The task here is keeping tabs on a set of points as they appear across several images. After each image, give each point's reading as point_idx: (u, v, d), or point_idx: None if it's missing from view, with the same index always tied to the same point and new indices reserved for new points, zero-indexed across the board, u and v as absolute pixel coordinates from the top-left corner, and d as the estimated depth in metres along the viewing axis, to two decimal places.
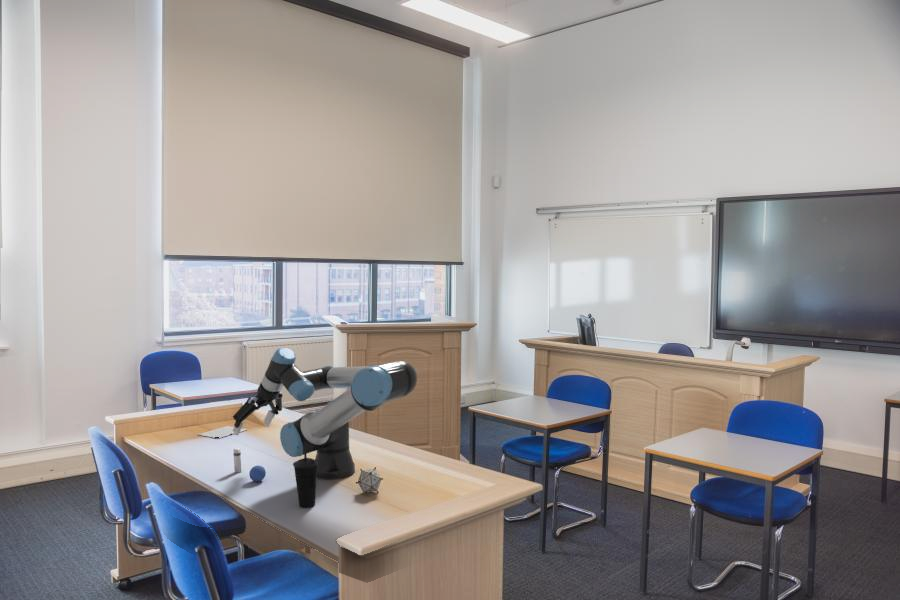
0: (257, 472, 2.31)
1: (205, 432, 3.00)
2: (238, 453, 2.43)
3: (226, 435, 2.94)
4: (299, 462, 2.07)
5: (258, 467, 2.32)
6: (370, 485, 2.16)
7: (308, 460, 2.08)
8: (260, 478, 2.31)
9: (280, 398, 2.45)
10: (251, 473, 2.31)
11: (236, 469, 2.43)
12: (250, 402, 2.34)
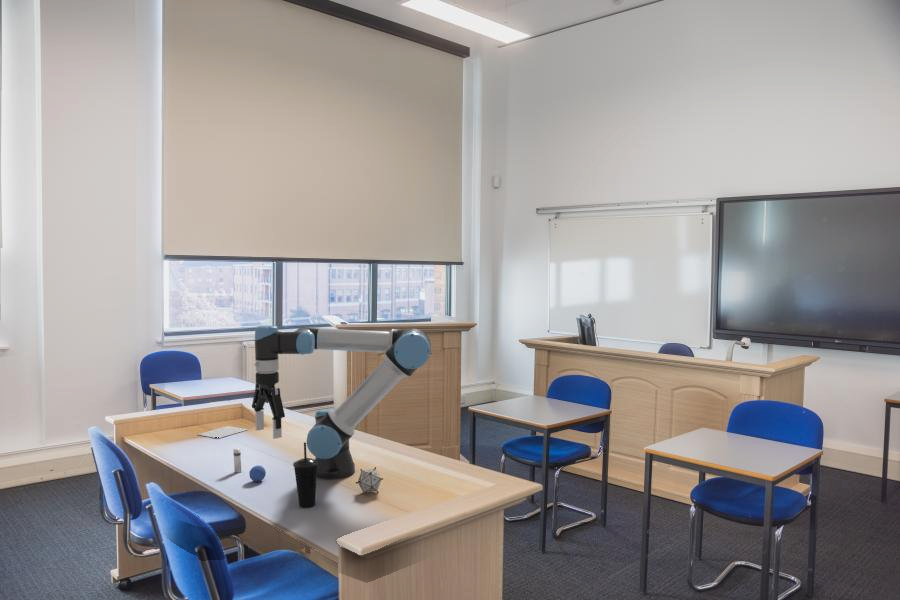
0: (257, 472, 2.31)
1: (205, 432, 3.00)
2: (238, 453, 2.43)
3: (226, 435, 2.94)
4: (299, 462, 2.07)
5: (258, 467, 2.32)
6: (370, 485, 2.16)
7: (308, 460, 2.08)
8: (260, 478, 2.31)
9: None
10: (251, 473, 2.31)
11: (236, 469, 2.43)
12: (278, 391, 2.20)
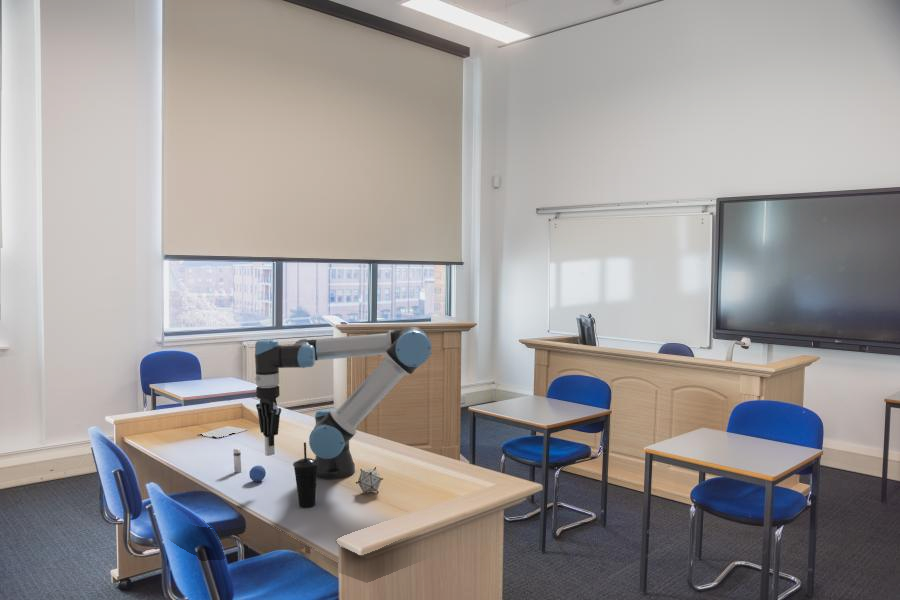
0: (257, 472, 2.31)
1: (205, 432, 3.00)
2: (238, 453, 2.43)
3: (226, 435, 2.94)
4: (299, 462, 2.07)
5: (258, 467, 2.32)
6: (370, 485, 2.16)
7: (308, 460, 2.08)
8: (260, 478, 2.31)
9: None
10: (251, 473, 2.31)
11: (236, 469, 2.43)
12: (279, 412, 2.21)
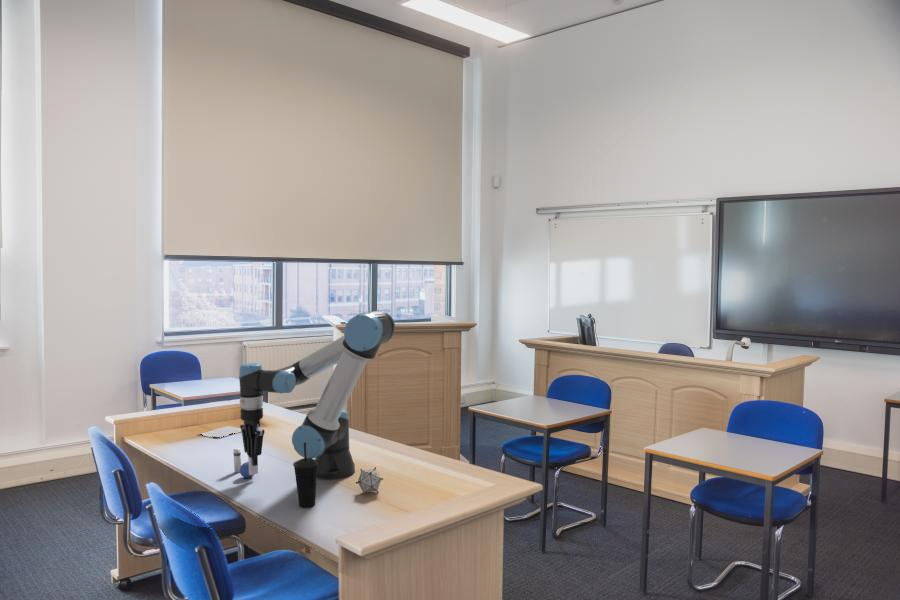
0: None
1: (205, 432, 3.00)
2: (238, 453, 2.43)
3: (226, 435, 2.94)
4: (299, 462, 2.07)
5: None
6: (370, 485, 2.16)
7: (308, 460, 2.08)
8: (245, 462, 2.37)
9: None
10: (240, 471, 2.36)
11: (236, 469, 2.43)
12: (262, 433, 2.30)
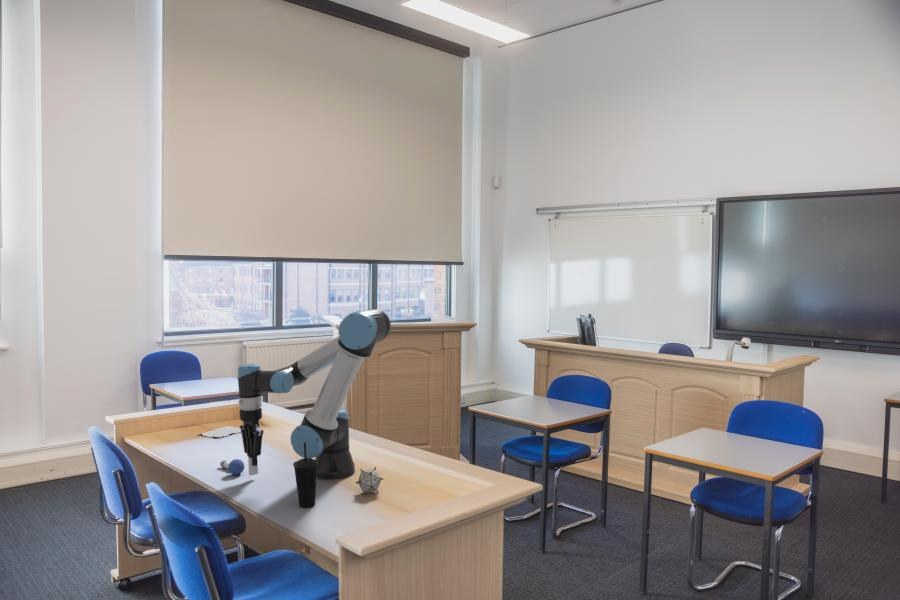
0: (236, 474, 2.41)
1: (205, 432, 3.00)
2: (223, 461, 2.49)
3: (226, 435, 2.94)
4: (299, 462, 2.07)
5: (240, 472, 2.41)
6: (370, 485, 2.16)
7: (308, 460, 2.08)
8: None
9: None
10: (232, 472, 2.39)
11: None
12: (261, 434, 2.31)
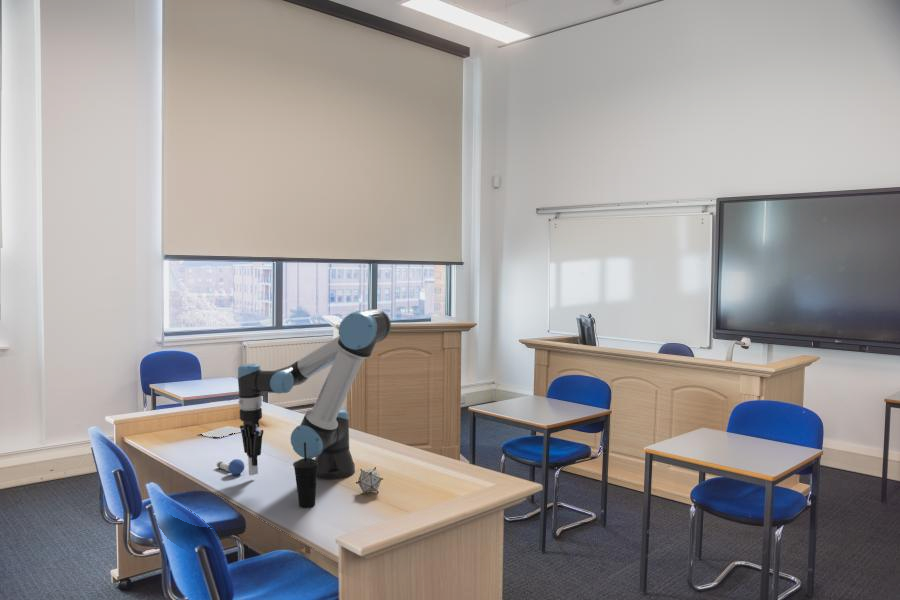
0: (236, 474, 2.41)
1: (205, 432, 3.00)
2: (218, 465, 2.48)
3: (226, 435, 2.94)
4: (299, 462, 2.07)
5: (240, 472, 2.41)
6: (370, 485, 2.16)
7: (308, 460, 2.08)
8: None
9: None
10: (232, 472, 2.39)
11: (227, 470, 2.44)
12: (261, 434, 2.31)
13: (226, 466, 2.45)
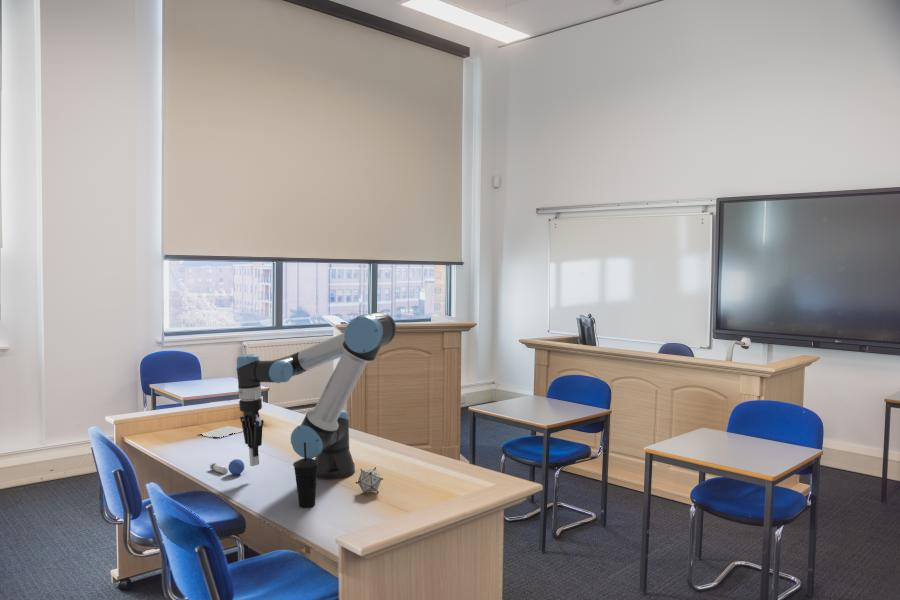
0: (236, 474, 2.41)
1: (205, 432, 3.00)
2: None
3: (226, 435, 2.94)
4: (299, 462, 2.07)
5: (240, 472, 2.41)
6: (370, 485, 2.16)
7: (308, 460, 2.08)
8: None
9: None
10: (232, 472, 2.39)
11: None
12: (261, 424, 2.30)
13: None
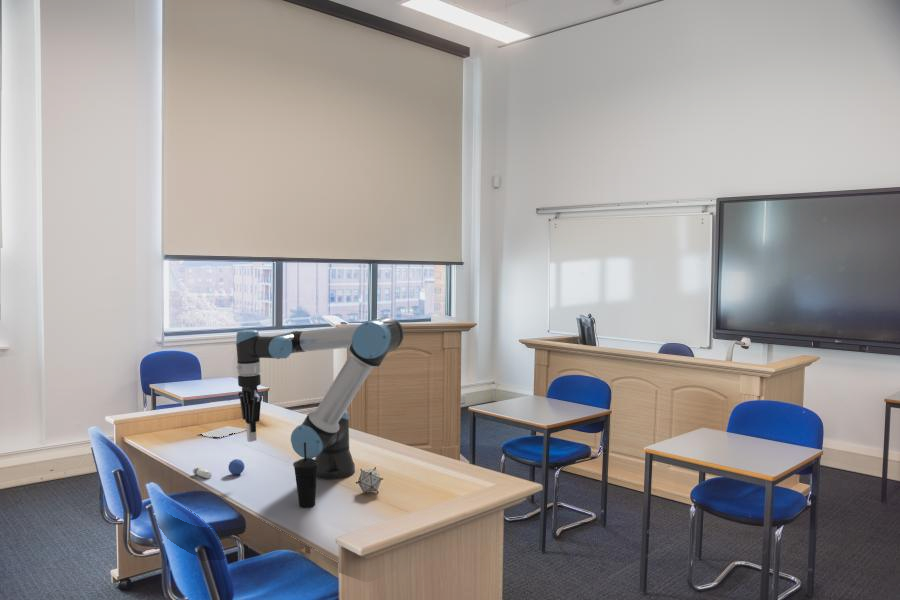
0: (236, 474, 2.41)
1: (205, 432, 3.00)
2: (196, 474, 2.42)
3: (226, 435, 2.94)
4: (299, 462, 2.07)
5: (240, 472, 2.41)
6: (370, 485, 2.16)
7: (308, 460, 2.08)
8: None
9: None
10: (232, 472, 2.39)
11: None
12: (259, 399, 2.30)
13: (203, 476, 2.38)
